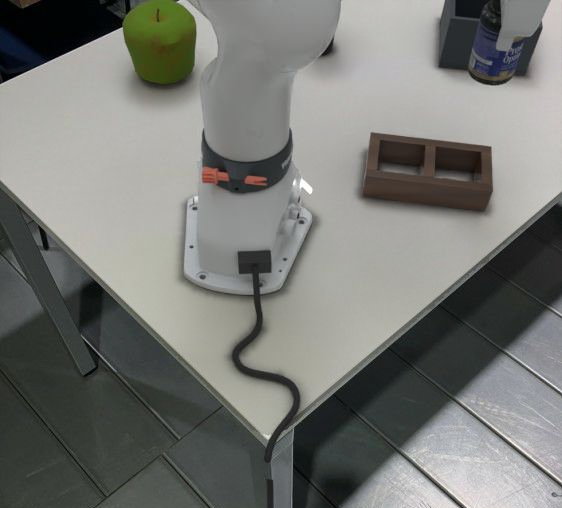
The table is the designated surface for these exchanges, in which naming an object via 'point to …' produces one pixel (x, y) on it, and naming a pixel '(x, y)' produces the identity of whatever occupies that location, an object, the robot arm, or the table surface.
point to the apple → (161, 40)
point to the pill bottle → (492, 49)
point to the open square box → (471, 35)
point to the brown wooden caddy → (429, 172)
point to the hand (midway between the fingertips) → (501, 31)
